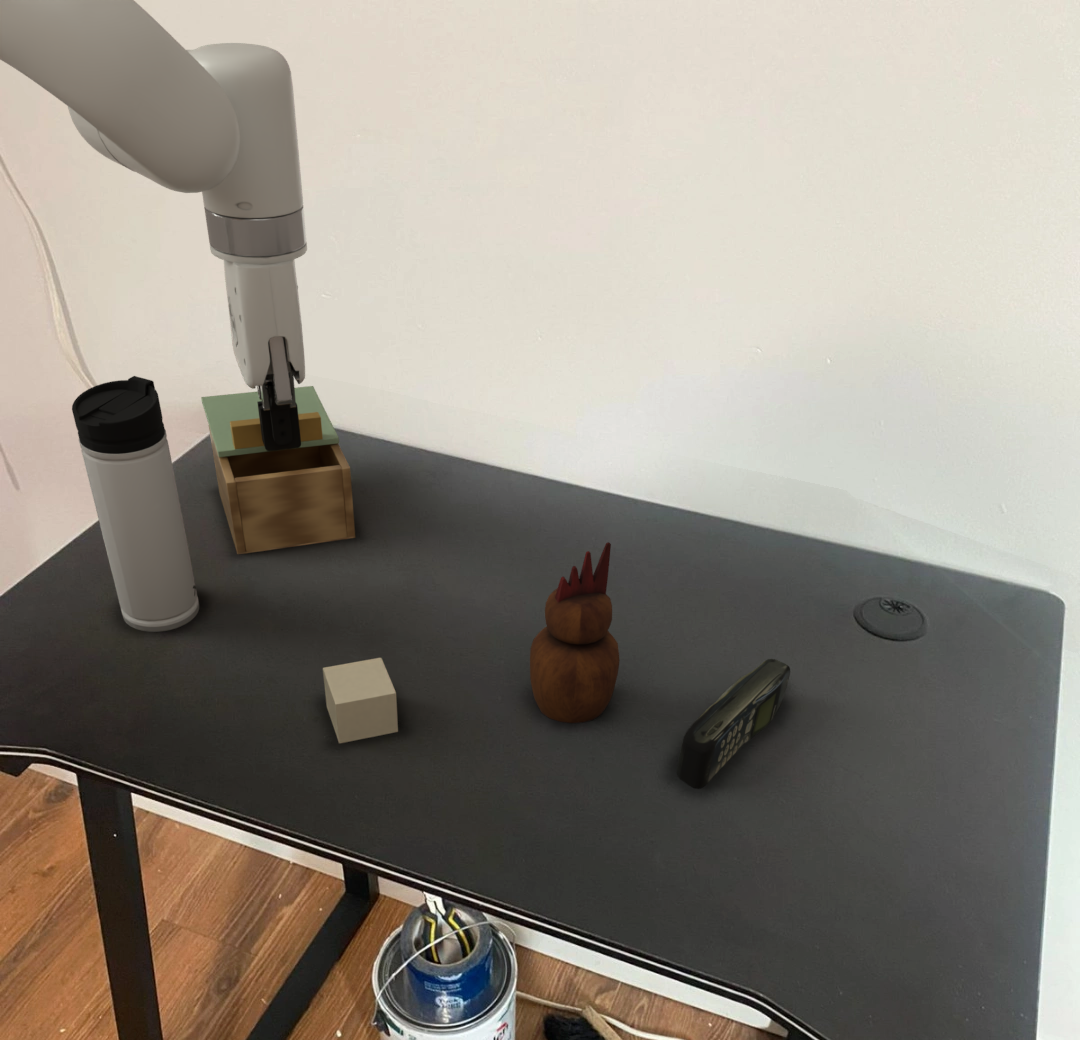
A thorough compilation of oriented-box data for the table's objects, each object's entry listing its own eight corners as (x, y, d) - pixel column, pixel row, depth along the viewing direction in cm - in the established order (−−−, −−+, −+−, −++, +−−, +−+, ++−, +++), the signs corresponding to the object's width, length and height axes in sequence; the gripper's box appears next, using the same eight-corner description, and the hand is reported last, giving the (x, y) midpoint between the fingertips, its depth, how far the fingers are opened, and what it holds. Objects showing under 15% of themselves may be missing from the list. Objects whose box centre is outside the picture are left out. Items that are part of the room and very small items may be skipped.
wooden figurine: (610, 689, 87) (629, 527, 77) (614, 736, 83) (635, 571, 73) (527, 686, 87) (536, 523, 77) (527, 732, 82) (536, 567, 73)
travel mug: (218, 606, 93) (178, 385, 80) (167, 646, 88) (117, 418, 75) (160, 587, 95) (112, 368, 82) (108, 625, 90) (48, 399, 77)
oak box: (238, 561, 99) (226, 482, 93) (220, 499, 107) (208, 424, 102) (355, 544, 102) (350, 467, 97) (329, 485, 110) (323, 411, 105)
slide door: (218, 457, 96) (214, 428, 95) (201, 402, 105) (197, 375, 103) (339, 443, 100) (337, 415, 98) (313, 391, 108) (311, 364, 106)
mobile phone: (712, 752, 75) (808, 650, 84) (675, 734, 76) (774, 635, 85) (702, 802, 78) (796, 698, 87) (667, 783, 79) (763, 683, 88)
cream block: (339, 750, 80) (335, 704, 77) (327, 713, 83) (322, 667, 80) (398, 738, 81) (396, 692, 78) (384, 702, 84) (381, 657, 81)
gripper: (196, 205, 88) (227, 414, 100) (220, 264, 78) (252, 490, 90) (288, 201, 90) (308, 406, 102) (323, 257, 80) (341, 479, 92)
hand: (282, 445), depth 96 cm, fingers closed
